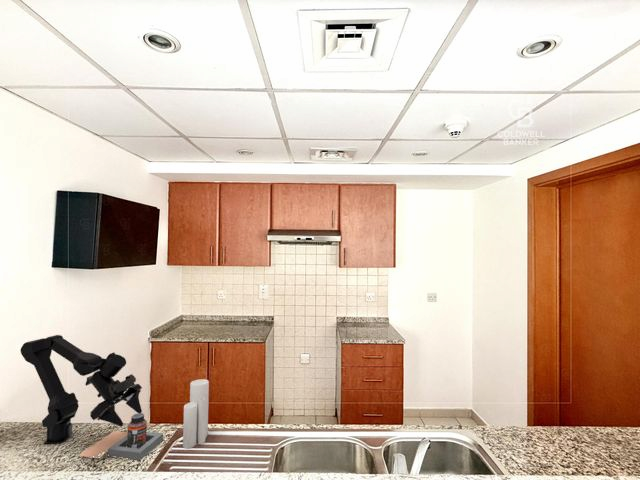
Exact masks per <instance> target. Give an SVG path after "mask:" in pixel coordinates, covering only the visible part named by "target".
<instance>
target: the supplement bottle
mask: <svg viewBox="0 0 640 480" xmlns="http://www.w3.org/2000/svg"><path fill="white" fill-rule="evenodd" d="M147 427H148V423H147V420H146V419H145V414H144V413H143V412H141V413H137V412H136V413H135V414H133V415H132V416H131V419H130V421H129V423H127V433H128V435H127V447H129V448H138V449H139V448H140V447H142V446H143V445H144V444H145V443H147V442H146V439H147V438H146V432H147V429H148V428H147Z"/></svg>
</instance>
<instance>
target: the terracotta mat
mask: <svg viewBox="0 0 640 480" xmlns="http://www.w3.org/2000/svg"><path fill="white" fill-rule="evenodd" d="M127 435H128V431H125V432H123V431H116V430H114V431H112V432H111V433H110V434H108V435H106V436H105V437H103V438H102V439H100V440H99V441H98V442H96V443H94V444H93V445H91V446H90V447H88V448H87V449H85V450H84V451H82V452H81V453H80V454H78V455H77V457H78V456H85V457H93V456H94V457H95V458H96V456H97V457H98V455H99V454H100V453H102V452H105V453H106V452H107V451H108V449H109V448H110V447H111V446H113V445H114V444H116V443H117V442H118V441H120V440H121V439H123V438H124V437H125V436H127ZM106 454H107V453H106Z"/></svg>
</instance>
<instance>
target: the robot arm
mask: <svg viewBox="0 0 640 480" xmlns="http://www.w3.org/2000/svg"><path fill="white" fill-rule="evenodd" d="M52 351H53V352H55V353H56V354H58V355H59V356H61V357H62V358H63V359H65V360H67V361H68V362H70V363H71V364H72V368H73V369H74V371H76V373H78V374H79V375H80V376H82V377H85V376H87V377H86V381H85V386H89V385H91V384H92V386H93V387H94V389H95V390H96V391H97V393H98V394H97V398H102V399H103V400H102V401H101V402H99V403H98V404H97V405H96V406H95V407H94V408H93V409H92V410H91V411H90V418H91V420H93V421H95V420H97V421H103V422H106V423H107V422H108V423H110V424H113V425H116V426H119V427H122V426H123V425H124V422H123V420H122V418H121V417H120V416H119V415H118V413H117V411H116V405H117V404H118V403H120V402H122V401H124V402H125V405H127V406H128V407H129V408H131V409H133V411H134V412H136V414H137V413H143V410H142V407H141V404H140V397H139V396H140V393H141V392H142V389H143V387H142V386H141V385H140V383H136V381H137V378H136V377H135V375H134V374H132V373H131V374H129V375H127V376H125V379H124V380H122V381H120V380H119V379H116V380H115V379H114V377H115V376H117V375H118V374H119V372H121V370H122V369H123V368H124V367H125V366H126V364H127V359H126V358H125V357H124V356H122V355H120V354H116V353H115V352H112V353H109V354H108V355H107V356H106V358H103V357H102V356H100V355H98V354H97V353H93V352H86V351H84V350H82V349H81V348H79V347H77V346H76V345H74V344H73V343H72V342H69V341H68V340H67V339H65V338H64V337H63V335H61V334H55V335H52V336H51V335H50V336H47V337H46V338H44V337H43V338H37V339H34V340H30V341H26V342H24V343H23V344H22V346H21V348H20V355H21V356H22V357H23V359H24V360H25V361H26V362H27V363H29V364H31V365H33V366H34V369H35V371H36V373H37V375H38V377H39V380H40V382H41V384H42V386H43V388H44V389H43V390H44V391H45V393H46V394H47V398H48V400H49V401H48V405H47V412H48V413H47V415H46V416H45V417H44V418H43V419H42V420H41V423H42V427H44V428H46V429H47V430H46V440H45V441H44V442H43V444H44V445H50V444H57V443H64V442H66V441H67V440H68V438H69V437H70V436H72V434H73V423H71V422H72V419H73V418H75V417H76V414H77V412H78V408H79V400H78V398H77V397H76V394H75V392H71V393H69V392H67V391H66V389H65V388H64V385H63V384H62V381H61V379H60V377H59V375H58V372H57V370H56V368H55V366H54V364H53V362H52V359H51V356H52ZM90 374H92V375H90Z"/></svg>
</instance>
